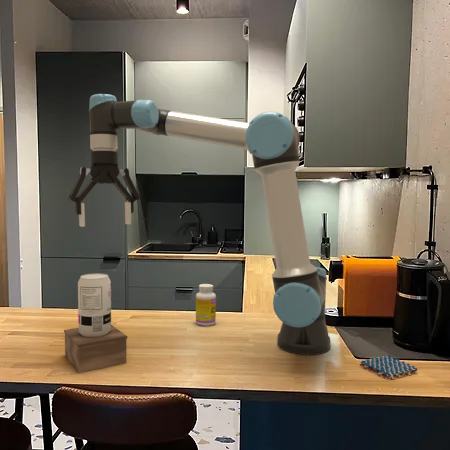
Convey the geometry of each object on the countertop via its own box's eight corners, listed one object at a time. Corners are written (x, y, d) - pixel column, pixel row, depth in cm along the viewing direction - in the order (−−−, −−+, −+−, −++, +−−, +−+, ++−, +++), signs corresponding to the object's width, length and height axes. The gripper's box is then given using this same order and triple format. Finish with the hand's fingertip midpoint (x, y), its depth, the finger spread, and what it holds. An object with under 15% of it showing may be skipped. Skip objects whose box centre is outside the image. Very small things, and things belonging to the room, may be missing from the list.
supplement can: (72, 332, 120) (71, 276, 118) (100, 326, 126) (99, 271, 124) (89, 340, 114) (88, 280, 113) (117, 332, 120) (117, 276, 119)
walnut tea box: (127, 362, 118) (127, 336, 118) (78, 373, 111) (78, 344, 111) (109, 347, 129) (109, 322, 129) (64, 355, 122) (63, 330, 122)
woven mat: (357, 367, 118) (357, 360, 118) (387, 361, 123) (387, 353, 123) (388, 383, 109) (388, 375, 109) (419, 375, 114) (419, 367, 114)
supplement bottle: (213, 327, 149) (213, 288, 148) (193, 325, 150) (193, 286, 149) (217, 321, 156) (217, 283, 154) (198, 319, 157) (198, 282, 156)
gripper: (139, 153, 141) (140, 222, 143) (55, 149, 127) (57, 226, 129) (150, 151, 135) (151, 224, 136) (62, 147, 121) (64, 228, 122)
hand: (105, 225), depth 133 cm, fingers open, 13 cm apart
